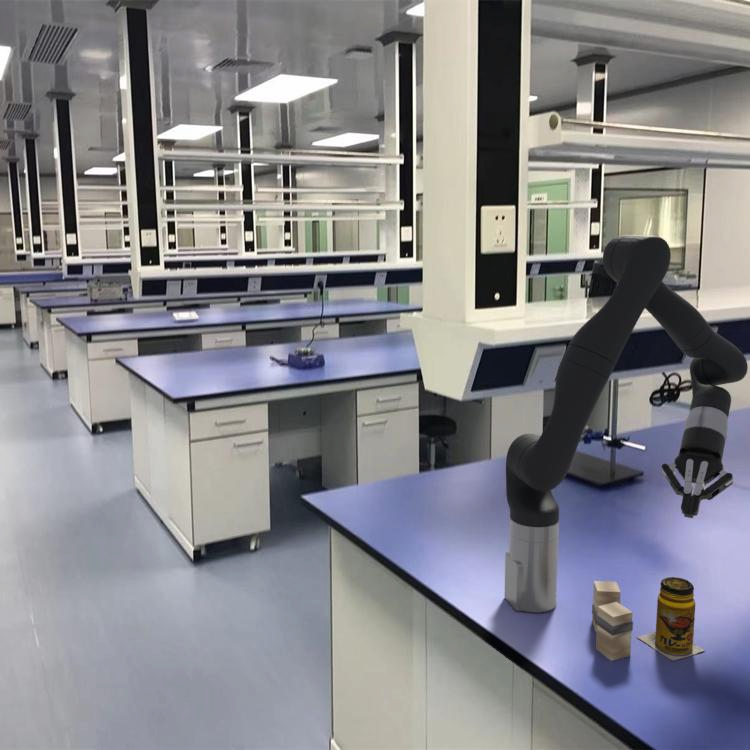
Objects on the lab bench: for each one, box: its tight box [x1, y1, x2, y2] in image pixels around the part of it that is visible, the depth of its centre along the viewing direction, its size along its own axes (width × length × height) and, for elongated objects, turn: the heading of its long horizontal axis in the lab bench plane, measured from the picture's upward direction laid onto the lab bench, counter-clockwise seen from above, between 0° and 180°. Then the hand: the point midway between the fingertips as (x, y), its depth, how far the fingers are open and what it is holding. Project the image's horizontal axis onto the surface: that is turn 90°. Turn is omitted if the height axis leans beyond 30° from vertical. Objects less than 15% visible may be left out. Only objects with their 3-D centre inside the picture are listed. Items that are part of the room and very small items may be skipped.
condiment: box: [636, 576, 705, 662], centre depth 128 cm, size 7×8×12 cm
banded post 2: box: [595, 602, 634, 662], centre depth 126 cm, size 4×4×8 cm
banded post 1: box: [591, 580, 621, 633], centre depth 135 cm, size 4×4×8 cm
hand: (688, 515), depth 135 cm, fingers closed
